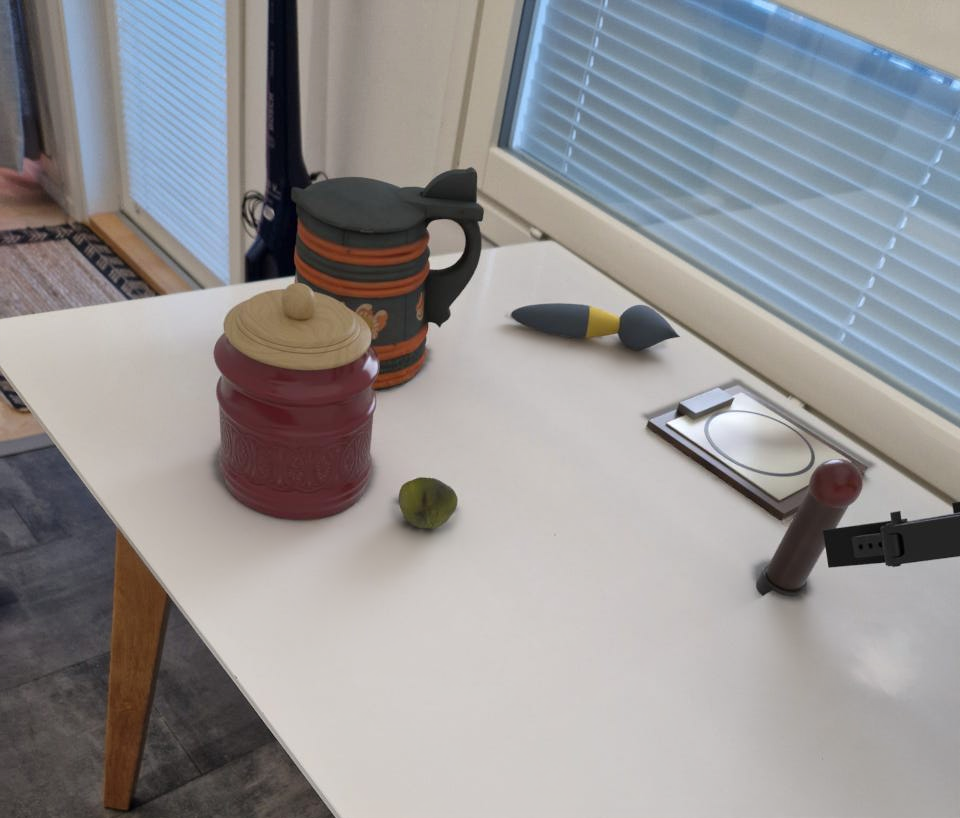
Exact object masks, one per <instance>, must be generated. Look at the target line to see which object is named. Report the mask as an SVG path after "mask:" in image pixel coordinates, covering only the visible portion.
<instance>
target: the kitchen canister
mask: <svg viewBox="0 0 960 818" xmlns="http://www.w3.org/2000/svg"><path fill="white" fill-rule="evenodd" d="M222 325H223V326H222V327H223V333H222V334H221V335H220V336H219V338H218V339H217V340H216V343H215V344H214V348H213V359H214V363H215V365H216V368H217V369H218V371H219V372H220V374H221V375H220V376H219V377H218V379H217V382H216V388H215V395H216V399H217V403H218V411H219V412H218V414H219V432H220V433H219V434H220V445H219V452H218V455H219V466H220V470H221V474H222V475H223V479H224V483H225V485H226V487H227V489H228V490H229V492H230V493H231V494H232V495H233V496H234V497H235V499H236V500H238V501H239V502H241V503H242V504H244V505H245V506H246V507H249V508H250V509H252V510H254V511H257V512H260V513H262V514H265V515H269V516H272V517H276V518H281V519H289V520H290V519H291V520H311V519H319V518H320V519H321V518H325V517H328V516H333V515H335V514H338V513H341V512H343V511H345V510H347V509H348V508H349V507H351V506H352V505H354V504H355V503H356V502H358V500H359V499H360V498H361V496H362V495H363V494H364V493H365V490H366V487H367V483H368V481H369V479H370V476H371V471H372V468H371V467H372V454H371V448H372V447H371V446H372V435H373V424H374V423H373V422H374V413H375V411H376V408H377V395H376V391H375V389H373V387H372V384H373V382H374V381H375V380H376V378H377V376H378V373H379V369H380V362H379V358H378V355H377V353H376V351H375V350H374V348H373V347H372V346H371V345H370V344H371V331H370V329H369V326H368V325H367V323H366V322H365V321H364V320H363V319H362V318H361V317H360V316H359V315H358V314H356V313H355V312H354V311H352V310H350V309H349V308H347V307H346V306H345V305H344V304H342V303H341V302H339V301H338V300H336V299H334V298H332V297H329V296H327V295H324V294H321V293H317V292H313V290H312V289H311V288H310V287H308V286H307V285H305V284H302V283H291V284H289V285H288V286H287V287H286V288H280V289H279V288H278V289H272V290H267V291H263V292H260V293H257V294H255V295H253V296H252V297H250V298H248V299H246V300H244V301H242V302H241V301H240V302H239V303H238V304H236V305H235V306H233V307H232V308H231V309H230V310H229V311H228V312H227V313H226V315H225V317H224V320H223V324H222Z"/></svg>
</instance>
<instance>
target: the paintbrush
mask: <svg viewBox="0 0 960 818" xmlns="http://www.w3.org/2000/svg"><path fill="white" fill-rule="evenodd" d="M510 316H511V318H512V319H513V320H514V321H516V322H517V323H518V324H521V325H523V326H525V327H528V328H530V329H533V330H536V331H540V332H544V333H546V334H552V335H555V336H562V337H566V338H567V337H568V338H577V339H591V338H599V337H605V336H612V335H616V334H617V336H618V339H619V341H620V342H621V343H622V344H623V346H625V347H626V348H628V349H630V350H633V351H642V350H646V349H649V348H652V347H654V346H655V345H658V344H660V343H661V342H662V343H663V342H664V341H666V340H671V339H676V338H681V335H679V334H678V333H677V332H676V330H675V329H674V328H673V326H672V324H670V323H669V322H668V320H666V319H665V317H663V316H662V315H661V314H660V313H658V312H657V311H656V310H655V309H653V308H652V307H650V306H648V305H644V304H636V305H632V306H630V307H628V308H627V309H625V311H623V312H622V313H621V315H620V316H618V315H615V314H613V313H611V312H608V311H606V310H603V309H600V308H597V307H594V306H591V305H586V304H579V303H564V302H563V303H561V302H557V303H555V302H554V303H553V302H552V303H537V304H530V305H525V306H521V307H518V308H516V309H514V310H513V311H512V312H511V313H510Z"/></svg>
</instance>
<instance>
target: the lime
mask: <svg viewBox="0 0 960 818" xmlns="http://www.w3.org/2000/svg"><path fill="white" fill-rule="evenodd" d="M458 501H459V499H458V495H457V494H456V492H455V490H454V489H453V488H452V487H451V485H448V484H447V483H445V482H444V481H441V480H440V479H437V478H434V477H423V476H422V477H421V476H420V477H416V478H414V479H412V480H408V481H406V482H405V483H403V484H402V485H401V487H400V489H399V493H398V506H399V508H400V511H401V513H402V515H403V518H404V519H405V520H406V521H407V522H409V524H411V525H412V526H414V527H416V528H419V529H435V528H438V527H440V526H442V525H444V524H445V523H447V521H449V519H451V517H452V515H453V514H454V512H455V511H456V509H457V506H458V503H459V502H458Z"/></svg>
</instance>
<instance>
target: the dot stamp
mask: <svg viewBox="0 0 960 818" xmlns="http://www.w3.org/2000/svg"><path fill="white" fill-rule="evenodd" d="M862 475H863V474H862ZM862 475H861V473H860V471H859V469H858V468H857V467H856V466H855V465H854V464H853V463H851V462H849V461H847V460H843V459H832V460H828V461H826V462H823V463H822V464H820V465H819V466H818V467H817V468H816V469H815V470H814V471H813V473H812V475H811V477H810V481H809V489H808V491H807V493H806V495H805V497H804V498H803V500H802V502H801V504H800V506H799V508H798V510H797V511H796V512H795V513H794V515H793V518H792V519H791V522H790V523H789V525H788V528H786V531H785V533H784V535H783V537H782V538H781V540H780V543H779V544H778V546H777V549H776V551H775V552H774V554H773V556H772V558H771V560H770V562H769V563H767V564H766V565H764V566H763V568H762V570H761V572H760V574H759V576H758V577H757V579H756V585H755V586H756V589H757V591H758V592H759V594H761V596H762V597H764V596H766V595H767V594H768V593H770V592H772V591H773V592H775V593H777V594H779V595H782V596H785V597H797V596H800V595H802V594H804V592H805V590H806V589H807V586H808V585H807V584H808V583H807V580H808V578H809V576H810V574H811V573H812V572H813V569H814V568H815V566H816V564H817V562H818V561H819V559H820V557H821V555H822V554H823V552H824V550H825V549H826V548H825V541H824V535H823V530H828V529H833V528H838V525H839V524H840V522H841V520H842V518H843V517H844V515H845V514H846V511H847V510H848V508H849V506H851V505H853V503H855V502H856V501H857V499H858V498H859V497H860V495H861V492H862V490H863V485H864V484H863V483H864V481H863V476H862Z"/></svg>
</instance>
